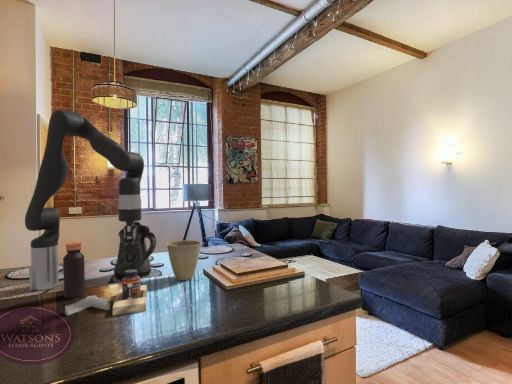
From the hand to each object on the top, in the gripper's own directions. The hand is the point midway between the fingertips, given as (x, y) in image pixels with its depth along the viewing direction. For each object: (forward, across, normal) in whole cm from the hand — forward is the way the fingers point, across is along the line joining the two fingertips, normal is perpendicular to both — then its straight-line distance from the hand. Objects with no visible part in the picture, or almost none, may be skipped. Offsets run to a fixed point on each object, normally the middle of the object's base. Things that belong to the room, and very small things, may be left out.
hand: (130, 252), depth 104 cm
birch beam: (+18, 0, 0) cm, 18 cm away
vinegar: (+18, -15, -21) cm, 32 cm away
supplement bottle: (+18, 0, 0) cm, 18 cm away
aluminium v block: (+18, +1, -13) cm, 22 cm away
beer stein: (+18, -36, 0) cm, 40 cm away
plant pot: (+18, -22, +21) cm, 35 cm away
